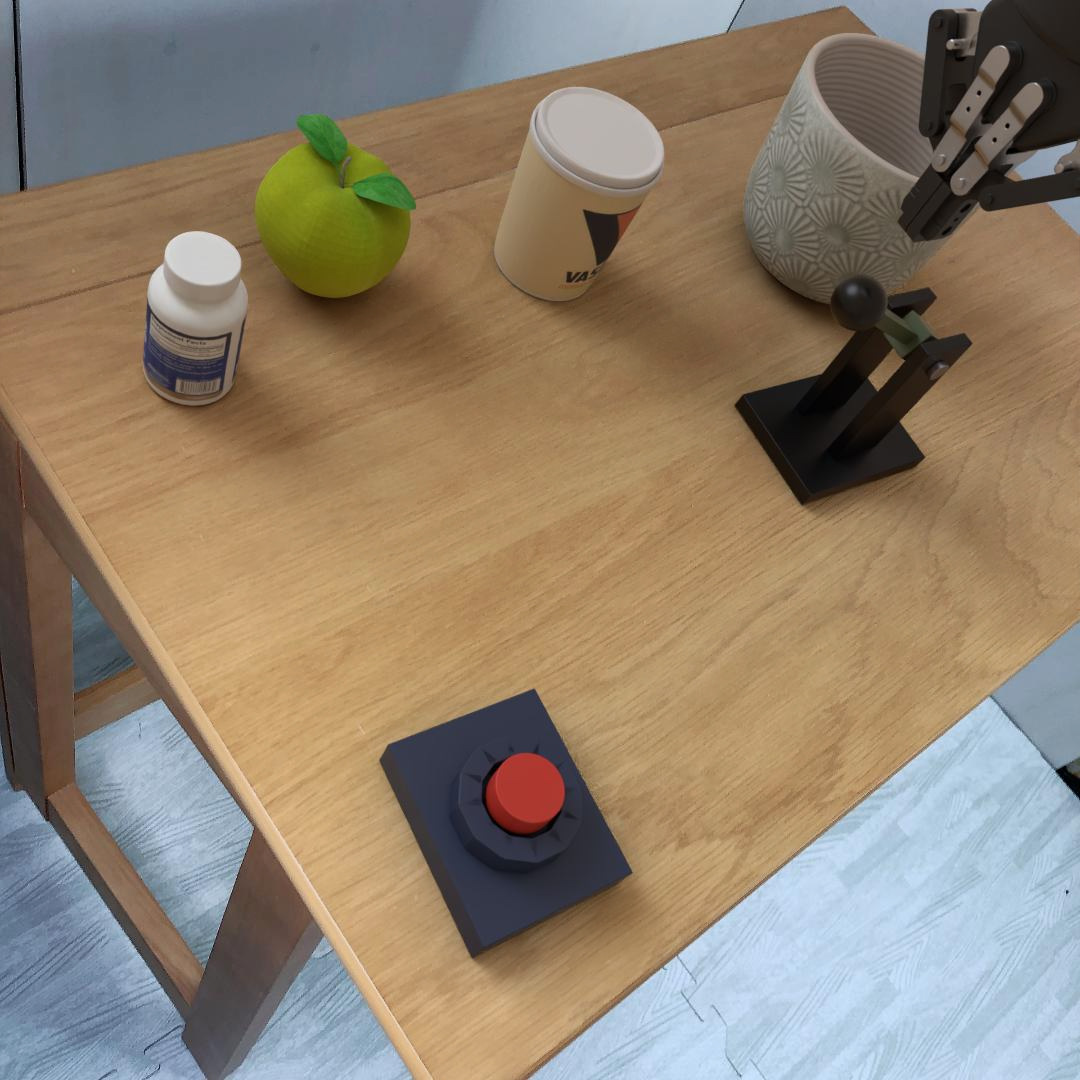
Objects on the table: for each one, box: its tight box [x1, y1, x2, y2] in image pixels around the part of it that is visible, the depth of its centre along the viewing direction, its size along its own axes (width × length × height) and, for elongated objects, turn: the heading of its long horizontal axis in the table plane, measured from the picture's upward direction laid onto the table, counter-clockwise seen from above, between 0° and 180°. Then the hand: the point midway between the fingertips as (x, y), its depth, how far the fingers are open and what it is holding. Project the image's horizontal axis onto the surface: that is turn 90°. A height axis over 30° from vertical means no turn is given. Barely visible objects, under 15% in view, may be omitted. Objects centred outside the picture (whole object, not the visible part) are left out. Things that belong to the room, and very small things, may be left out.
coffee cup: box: [493, 86, 665, 302], centre depth 80 cm, size 9×9×12 cm
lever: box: [829, 275, 941, 362], centre depth 71 cm, size 14×3×3 cm, turn 119°
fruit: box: [254, 113, 417, 299], centre depth 73 cm, size 9×9×10 cm
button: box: [486, 753, 565, 834], centre depth 57 cm, size 4×4×2 cm
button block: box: [378, 688, 633, 959], centre depth 59 cm, size 11×9×4 cm
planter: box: [742, 32, 982, 305], centre depth 89 cm, size 17×17×15 cm
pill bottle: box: [142, 230, 249, 407], centre depth 65 cm, size 5×5×10 cm
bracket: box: [734, 287, 974, 506], centre depth 80 cm, size 12×9×13 cm
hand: (916, 231), depth 62 cm, fingers closed
